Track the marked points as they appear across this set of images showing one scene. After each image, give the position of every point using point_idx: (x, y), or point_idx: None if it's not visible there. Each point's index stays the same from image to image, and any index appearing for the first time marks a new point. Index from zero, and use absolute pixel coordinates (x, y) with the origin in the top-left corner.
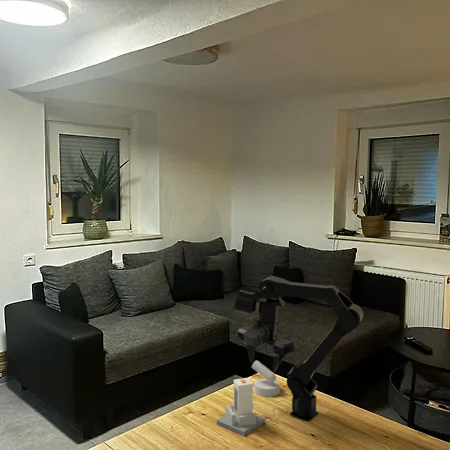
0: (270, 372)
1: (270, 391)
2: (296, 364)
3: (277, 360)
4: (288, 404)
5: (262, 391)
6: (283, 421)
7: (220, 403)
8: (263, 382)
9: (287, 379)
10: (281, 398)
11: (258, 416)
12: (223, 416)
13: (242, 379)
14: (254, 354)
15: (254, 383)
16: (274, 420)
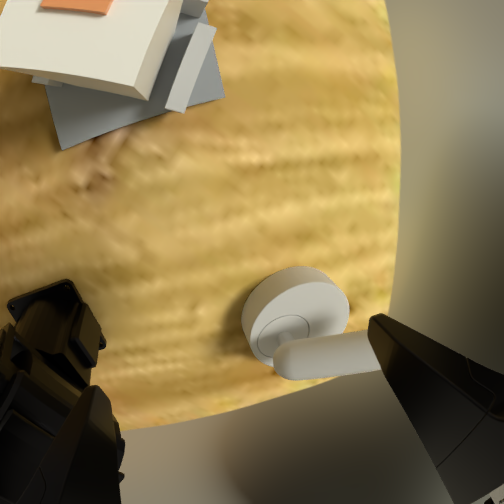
0: (307, 373)
1: (252, 312)
2: (7, 501)
3: (32, 493)
4: (150, 321)
5: (276, 286)
6: (39, 225)
7: (330, 85)
8: (318, 322)
9: (13, 387)
10: (206, 325)
11: (91, 132)
12: None
13: (136, 10)
14: (394, 390)
15: (337, 288)
16: (60, 196)
